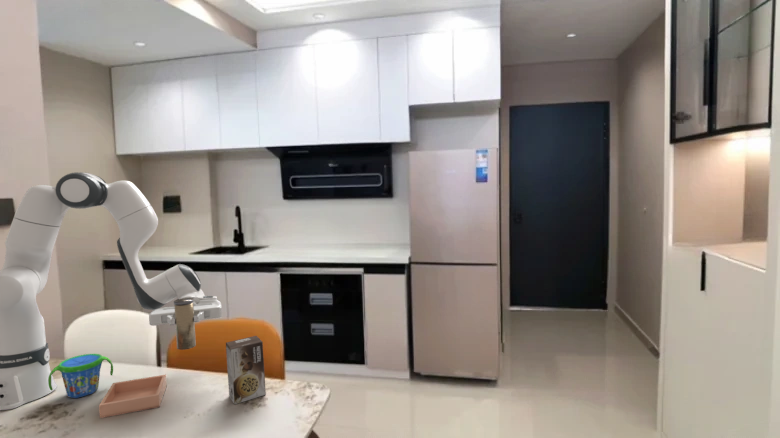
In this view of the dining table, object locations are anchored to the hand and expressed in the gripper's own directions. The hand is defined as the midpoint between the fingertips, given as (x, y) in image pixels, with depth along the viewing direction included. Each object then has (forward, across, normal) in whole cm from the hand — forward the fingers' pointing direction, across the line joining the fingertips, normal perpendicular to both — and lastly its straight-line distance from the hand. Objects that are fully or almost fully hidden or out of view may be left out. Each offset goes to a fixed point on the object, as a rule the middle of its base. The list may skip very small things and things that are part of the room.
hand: (184, 320), depth 122 cm
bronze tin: (-1, 0, +8) cm, 8 cm away
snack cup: (-13, -30, +22) cm, 39 cm away
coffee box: (+9, +16, +22) cm, 29 cm away
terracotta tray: (-1, -14, +22) cm, 26 cm away
